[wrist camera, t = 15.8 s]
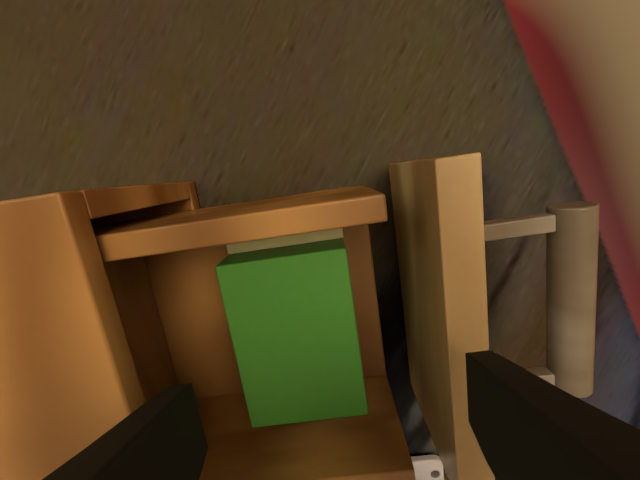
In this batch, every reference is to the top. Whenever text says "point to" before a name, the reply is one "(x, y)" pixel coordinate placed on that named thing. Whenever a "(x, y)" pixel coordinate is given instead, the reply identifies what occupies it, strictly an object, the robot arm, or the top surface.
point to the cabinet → (65, 323)
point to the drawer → (418, 307)
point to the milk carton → (294, 328)
